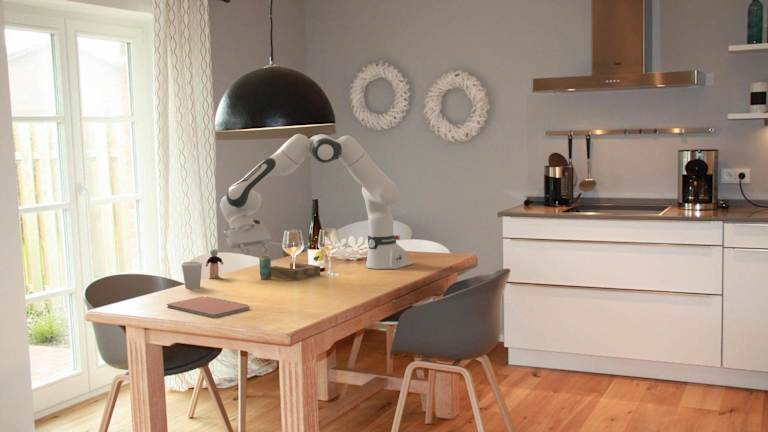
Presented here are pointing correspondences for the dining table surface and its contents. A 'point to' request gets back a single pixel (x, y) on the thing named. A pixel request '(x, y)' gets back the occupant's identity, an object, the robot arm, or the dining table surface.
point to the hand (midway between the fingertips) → (256, 252)
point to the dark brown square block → (295, 271)
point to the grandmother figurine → (214, 264)
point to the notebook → (209, 306)
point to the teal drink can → (265, 266)
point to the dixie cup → (192, 274)
